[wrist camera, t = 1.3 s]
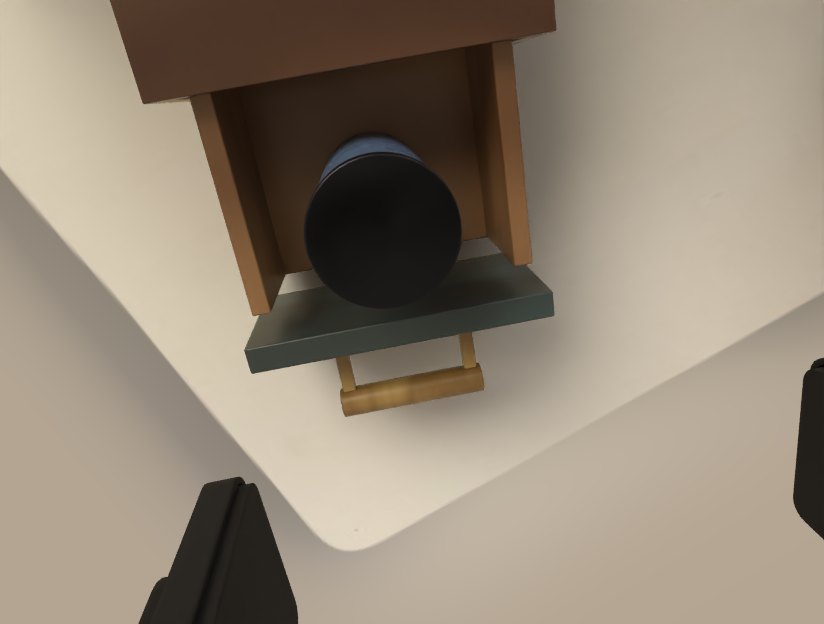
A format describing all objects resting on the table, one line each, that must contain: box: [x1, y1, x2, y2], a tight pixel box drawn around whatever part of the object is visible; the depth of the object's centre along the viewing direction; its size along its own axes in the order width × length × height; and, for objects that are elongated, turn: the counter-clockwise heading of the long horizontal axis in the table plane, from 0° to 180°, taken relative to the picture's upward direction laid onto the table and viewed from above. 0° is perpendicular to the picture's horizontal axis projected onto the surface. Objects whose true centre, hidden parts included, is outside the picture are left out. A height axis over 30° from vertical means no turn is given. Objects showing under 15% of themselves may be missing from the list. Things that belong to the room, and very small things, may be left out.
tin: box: [303, 132, 462, 309], centre depth 23 cm, size 5×5×11 cm
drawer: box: [189, 40, 554, 417], centre depth 26 cm, size 19×13×7 cm
